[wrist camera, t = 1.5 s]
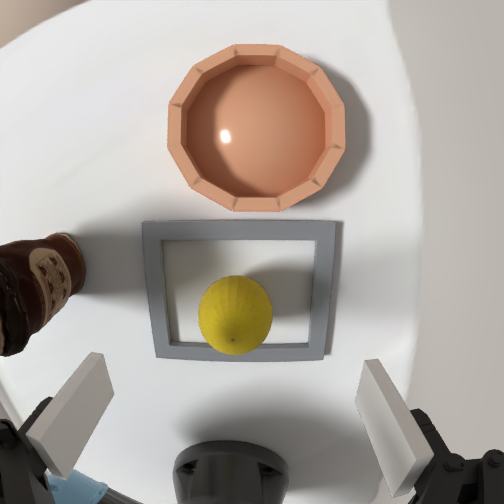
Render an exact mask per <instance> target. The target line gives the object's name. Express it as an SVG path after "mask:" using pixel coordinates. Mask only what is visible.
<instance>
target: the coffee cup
mask: <svg viewBox="0 0 504 504" xmlns="http://www.w3.org/2000/svg"><path fill="white" fill-rule="evenodd" d="M85 274H86V269H85V263H84V259H83V257H82V254H81V252H80V250H79V248H78V247H77V245H76V243H75V242H74V241H73V240H72V239H71V238H70V237H69V236H68V235H66V234H58V233H55V234H51V235H50V236H48V237H46V238H45V239H38V240H20V241H14V242H11V243H7V244H5V245H1V246H0V356H4V357H7V356H11V355H14V354H17V353H20V352H22V351H23V349H24V348H25V347H26V345H27V344H28V341H29V338H30V336H31V335H32V334H34V333H36V332H38V331H39V330H41V328H43V327H44V326H45V325H46V324H47V323H48V322H49V321H50V320H51V318H52V317H53V316H54V315H55V314H57V313H58V312H59V311H60V310H61V309H62V308H63V307H64V305H65V304H66V302H67V300H68V298H69V297H70V296H72V295H73V294H75V293H77V292H78V291H79V290H80V289H81V288H82V286H83V284H84V280H85Z"/></svg>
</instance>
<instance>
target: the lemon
mask: <svg viewBox="0 0 504 504" xmlns="http://www.w3.org/2000/svg"><path fill="white" fill-rule="evenodd" d="M198 316H199V326H200V329H201V332H202V335H203V336H204V338H205V339H206V341H207V342H208V343H209V344H210V345H211V346H212V347H213V348H214V349H216V350H218V351H219V352H222V353H225V354H228V355H241V354H245V353H248V352H251V351H253V350H254V349H256V348H257V347H258V346H259V345H260V344H261V343H262V342H263V341H264V340H265V338H266V337H267V335H268V333H269V331H270V328H271V323H272V318H273V313H272V304H271V302H270V299H269V296H268V294H267V293H266V292H265V290H264V289H263V287H262V286H260V285H259V284H258V283H257V282H256V281H254V280H252V279H250V278H248V277H243V276H228V277H225V278H222V279H220V280H218V281H216V282H215V283H213V284H212V285H211V286H210V287H209V288H208V289H207V290H206V292H205V294H204V296H203V297H202V299H201V302H200V306H199V311H198Z"/></svg>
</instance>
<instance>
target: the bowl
mask: <svg viewBox="0 0 504 504" xmlns="http://www.w3.org/2000/svg"><path fill="white" fill-rule="evenodd" d="M193 66H194V67H193ZM193 66H192V68H191V69H190V71H189V72H188V74H187V75H186V77H185V78H184V80H183V81H182V83H181V84H180V86H179V88H178V89H177V91H176V92H175V94H174V95H173V97H172V99H171V100H170V102H169V105H168V138H167V148H168V150H169V152H170V154H171V155H172V157H173V159H174V161H175V162H176V164H177V166H178V168H179V169H180V171H181V173H182V174H183V176H184V178H185V180H186V181H187V183H188V185H189V186H190V188H191V189H193V190H195V191H197V192H198V193H200V194H202V195H204V196H206V197H207V198H209V199H211V200H213V201H214V202H216V203H218V204H220V205H222V206H223V207H225V208H227V209H229V210H230V211H232V210H233V212H280V211H283V210H285V209H287V208H288V207H290V206H292V205H294V204H296V203H297V202H299V201H301V200H303V199H305V198H306V197H308V196H310V195H312V194H314V193H316V192H317V191H319V190H321V188H323V187H324V185H325V183H326V182H327V180H328V178H329V177H330V175H331V173H332V172H333V170H334V168H335V166H336V165H337V163H338V161H339V160H340V158H341V156H342V154H343V153H344V151H345V150H344V149H345V106H344V103H343V102H342V100H341V98H340V97H339V95H338V94H337V92H336V90H335V89H334V87H333V85H332V84H331V82H330V81H329V79H328V78H327V76H326V75H325V73H324V71H323V70H322V68H319V67H320V66H318V65H316V64H315V63H313V62H311V61H309V60H308V59H306V58H304V57H302V56H300V55H298V54H297V53H295V52H293V51H291V50H289V49H287V48H285V47H283V46H281V45H267V44H234V45H232V46H230V47H227V48H225V49H223V50H221V51H219V52H218V53H216V54H214V55H212V56H210V57H208V58H206V59H204V60H202V61H201V62H199V63H197V64H195V65H193Z"/></svg>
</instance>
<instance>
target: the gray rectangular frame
mask: <svg viewBox="0 0 504 504" xmlns="http://www.w3.org/2000/svg"><path fill="white" fill-rule="evenodd" d="M335 228H336V222H334V221H299V220H173V221H144V222H142V238H143V252H144V265H145V276H146V286H147V295H148V304H149V312H150V319H151V327H152V334H153V340H154V347H155V353H156V358H167V359H181V360H199V361H225V362H289V361H315V360H323V358H324V351H325V343H326V335H327V326H328V317H329V308H330V298H331V287H332V275H333V261H334V246H335ZM162 240H315V256H314V273H313V288H312V302H311V315H310V326H309V337H308V343H302V344H260V345H259V346H258V347H257V348H256V349H254V350H253V351H251V352H248V353H245V354H241V355H228V354H225V353H222V352H219V351H218V350H216V349H214V348H213V347H212V346H211V345H210V344H209V343H189V342H171V337H170V328H169V320H168V310H167V300H166V290H165V278H164V265H163V249H162Z"/></svg>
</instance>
